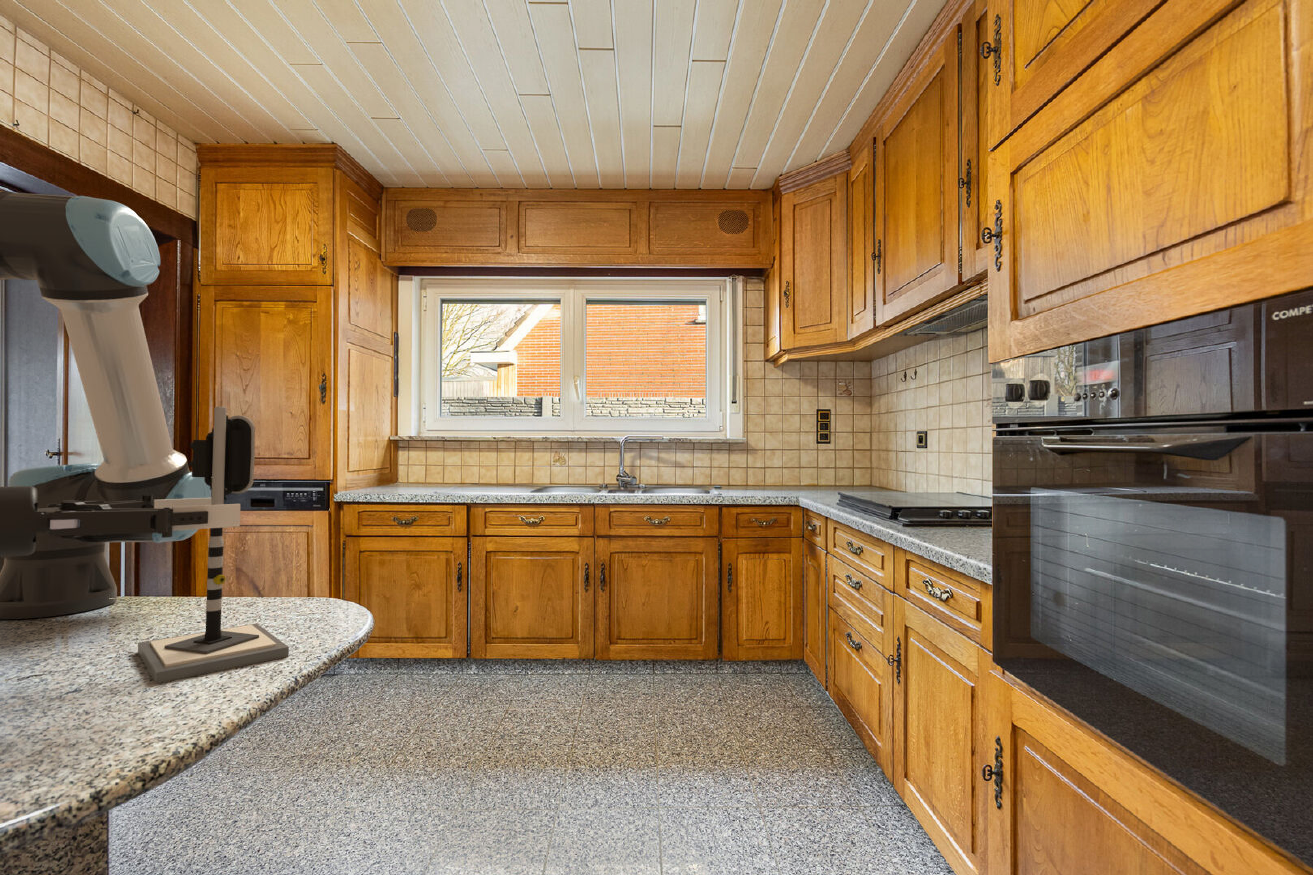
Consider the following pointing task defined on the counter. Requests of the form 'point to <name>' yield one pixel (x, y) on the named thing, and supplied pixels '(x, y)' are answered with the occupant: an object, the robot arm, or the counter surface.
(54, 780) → the counter surface
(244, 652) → the plate
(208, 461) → the miniature traffic light
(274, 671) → the counter surface
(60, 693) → the counter surface
